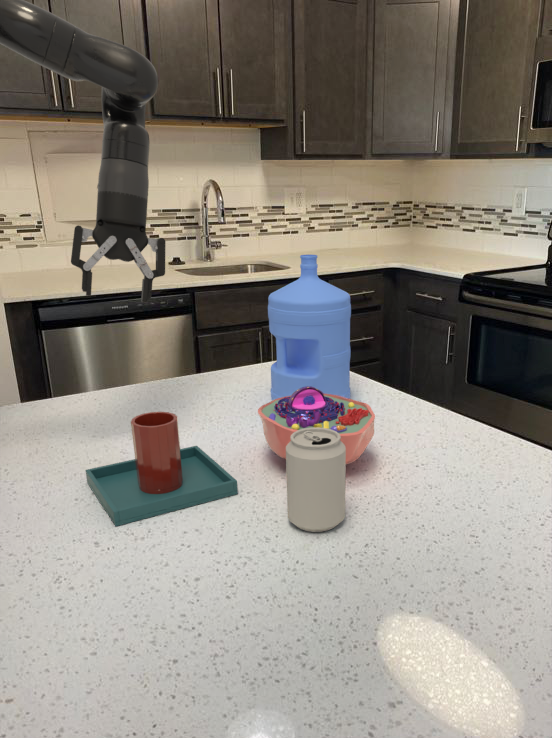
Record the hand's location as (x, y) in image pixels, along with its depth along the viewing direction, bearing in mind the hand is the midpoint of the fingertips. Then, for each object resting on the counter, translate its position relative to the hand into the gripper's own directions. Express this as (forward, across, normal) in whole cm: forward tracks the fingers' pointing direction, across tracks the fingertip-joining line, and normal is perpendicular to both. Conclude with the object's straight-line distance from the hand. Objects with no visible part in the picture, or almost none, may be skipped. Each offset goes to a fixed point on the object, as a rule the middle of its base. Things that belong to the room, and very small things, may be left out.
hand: (116, 299), depth 106 cm
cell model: (+22, +30, -18) cm, 42 cm away
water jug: (+16, +38, +9) cm, 43 cm away
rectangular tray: (+26, +6, -19) cm, 33 cm away
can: (+26, +24, -36) cm, 50 cm away
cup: (+26, +6, -19) cm, 32 cm away
